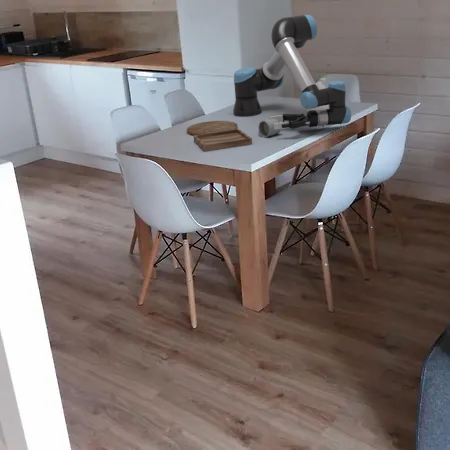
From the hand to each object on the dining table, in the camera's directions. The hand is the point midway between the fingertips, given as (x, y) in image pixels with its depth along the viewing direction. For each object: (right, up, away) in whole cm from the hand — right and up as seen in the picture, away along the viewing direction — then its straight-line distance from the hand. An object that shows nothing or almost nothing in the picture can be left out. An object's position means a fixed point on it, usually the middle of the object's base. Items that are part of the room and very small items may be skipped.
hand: (271, 123), depth 290 cm
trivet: (-28, 0, +22) cm, 35 cm away
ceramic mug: (-1, -5, +4) cm, 7 cm away
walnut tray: (-23, -9, -2) cm, 24 cm away
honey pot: (+27, +10, +33) cm, 44 cm away
